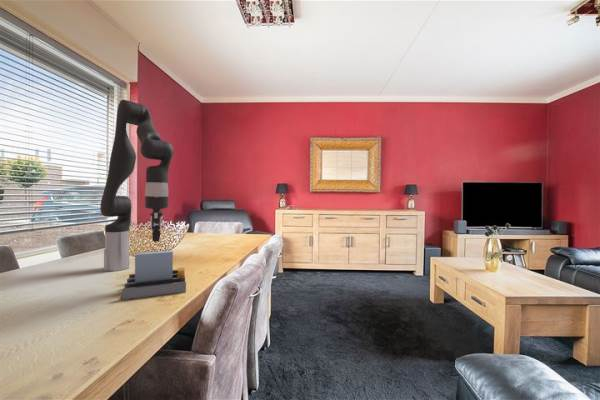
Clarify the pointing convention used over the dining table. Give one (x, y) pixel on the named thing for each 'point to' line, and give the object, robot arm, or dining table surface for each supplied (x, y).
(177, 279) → the rack
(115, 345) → the dining table surface
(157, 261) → the panel
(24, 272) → the dining table surface
